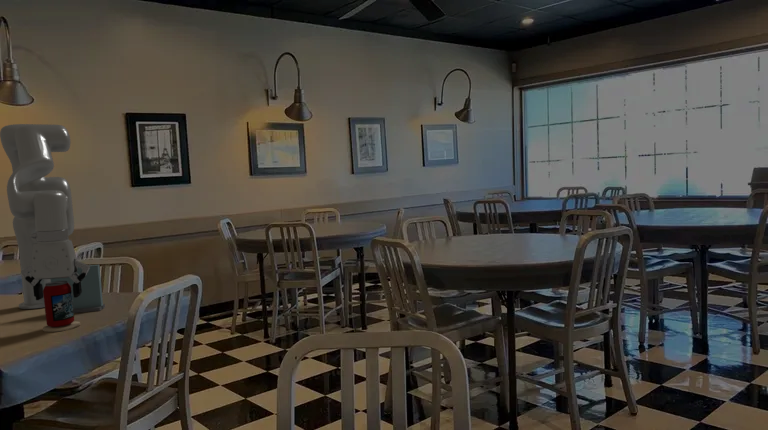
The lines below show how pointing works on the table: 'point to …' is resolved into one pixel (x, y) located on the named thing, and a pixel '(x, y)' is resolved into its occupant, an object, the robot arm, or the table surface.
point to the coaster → (71, 326)
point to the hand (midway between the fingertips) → (58, 297)
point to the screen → (87, 291)
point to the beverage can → (58, 304)
